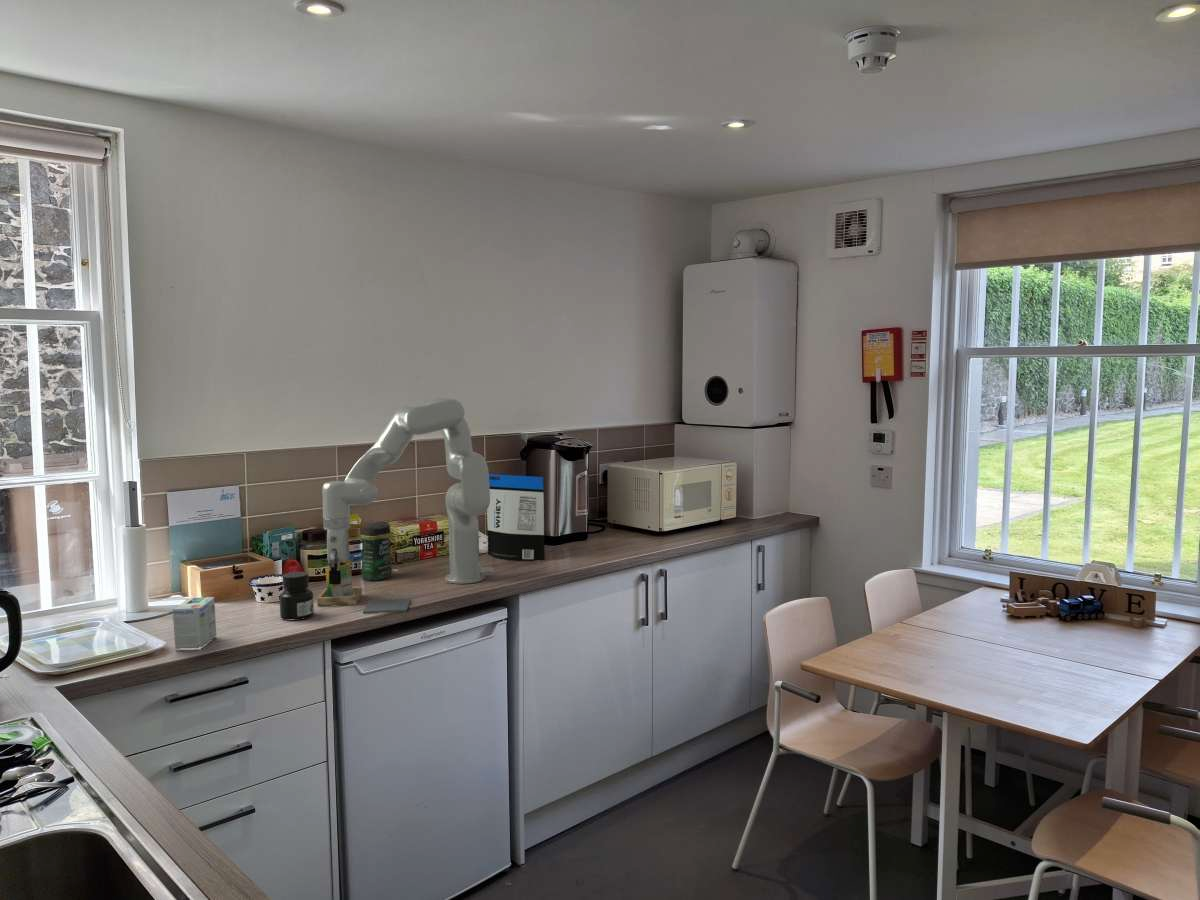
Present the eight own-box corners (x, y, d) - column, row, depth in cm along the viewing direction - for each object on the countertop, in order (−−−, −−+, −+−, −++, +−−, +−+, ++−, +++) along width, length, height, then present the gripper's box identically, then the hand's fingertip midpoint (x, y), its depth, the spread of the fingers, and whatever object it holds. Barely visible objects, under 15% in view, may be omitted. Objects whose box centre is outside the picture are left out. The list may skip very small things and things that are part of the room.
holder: (361, 595, 263) (361, 587, 263) (356, 604, 252) (355, 596, 252) (325, 596, 262) (324, 588, 261) (317, 606, 251) (317, 598, 251)
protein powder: (537, 563, 303) (536, 478, 300) (480, 557, 313) (478, 475, 311) (551, 557, 311) (549, 475, 308) (495, 552, 322) (493, 472, 319)
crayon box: (346, 595, 261) (345, 557, 259) (353, 596, 259) (351, 558, 258) (326, 601, 255) (324, 562, 253) (333, 602, 253) (331, 563, 252)
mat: (410, 600, 256) (410, 598, 256) (406, 611, 244) (406, 609, 244) (369, 602, 255) (369, 600, 255) (363, 613, 243) (363, 611, 243)
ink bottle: (306, 621, 236) (304, 578, 235) (274, 621, 236) (272, 579, 235) (319, 611, 246) (317, 570, 245) (288, 611, 246) (286, 570, 245)
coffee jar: (375, 582, 278) (373, 526, 276) (357, 580, 282) (355, 524, 280) (396, 576, 287) (394, 521, 285) (378, 573, 290) (376, 519, 289)
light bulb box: (190, 638, 223) (188, 597, 222) (217, 637, 224) (215, 596, 223) (174, 651, 212) (171, 608, 211) (202, 650, 213) (199, 607, 212)
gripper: (344, 528, 246) (346, 586, 248) (354, 518, 264) (356, 573, 265) (317, 528, 246) (319, 587, 247) (329, 518, 263) (331, 573, 264)
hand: (338, 580), depth 256 cm, fingers open, 9 cm apart
